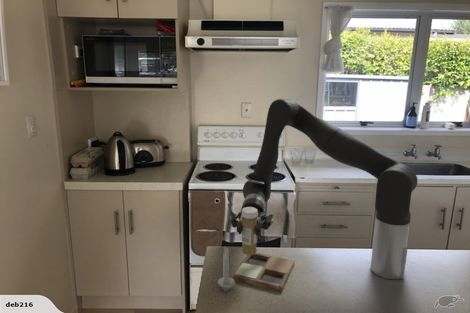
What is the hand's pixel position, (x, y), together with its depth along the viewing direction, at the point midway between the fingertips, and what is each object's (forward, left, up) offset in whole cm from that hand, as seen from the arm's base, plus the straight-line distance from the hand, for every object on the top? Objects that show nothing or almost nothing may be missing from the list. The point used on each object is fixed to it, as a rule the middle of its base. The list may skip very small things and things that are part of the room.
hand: (248, 231), depth 96 cm
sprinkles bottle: (+1, -3, -8) cm, 8 cm away
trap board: (-3, -6, -16) cm, 17 cm away
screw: (+4, +6, -16) cm, 17 cm away
